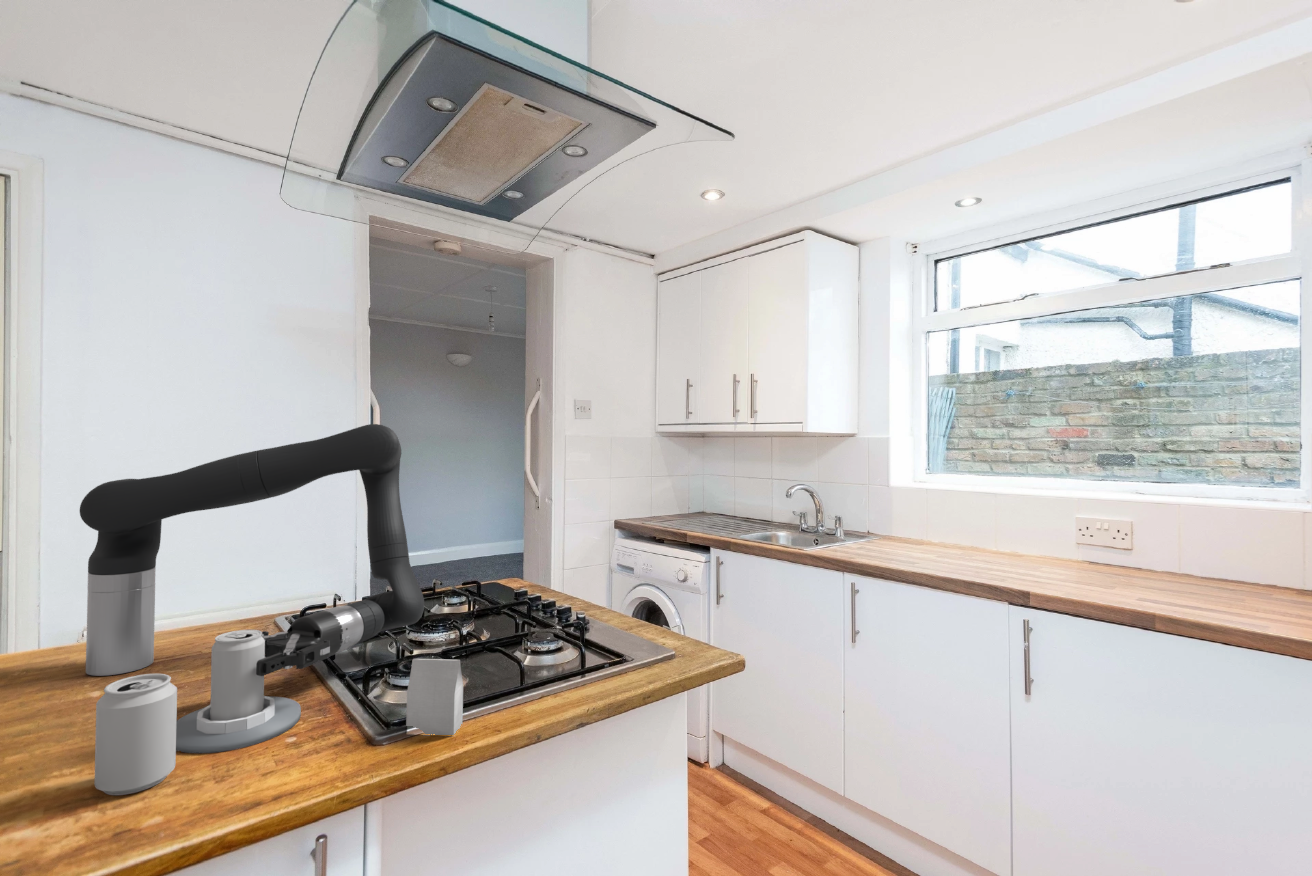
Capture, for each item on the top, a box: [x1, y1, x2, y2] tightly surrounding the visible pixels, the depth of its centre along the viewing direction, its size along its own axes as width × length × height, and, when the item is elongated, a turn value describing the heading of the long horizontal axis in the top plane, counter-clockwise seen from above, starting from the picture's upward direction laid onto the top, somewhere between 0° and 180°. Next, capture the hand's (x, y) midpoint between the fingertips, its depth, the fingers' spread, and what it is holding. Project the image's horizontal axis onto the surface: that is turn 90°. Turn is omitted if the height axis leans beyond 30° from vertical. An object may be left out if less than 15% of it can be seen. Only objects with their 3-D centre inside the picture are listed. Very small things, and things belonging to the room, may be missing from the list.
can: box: [93, 673, 178, 796], centre depth 76 cm, size 8×8×12 cm
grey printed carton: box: [405, 658, 464, 736], centre depth 91 cm, size 4×7×10 cm, turn 89°
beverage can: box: [210, 629, 265, 721], centre depth 91 cm, size 6×6×12 cm
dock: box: [176, 695, 302, 754], centre depth 91 cm, size 16×16×2 cm
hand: (235, 665), depth 91 cm, fingers open, 8 cm apart
